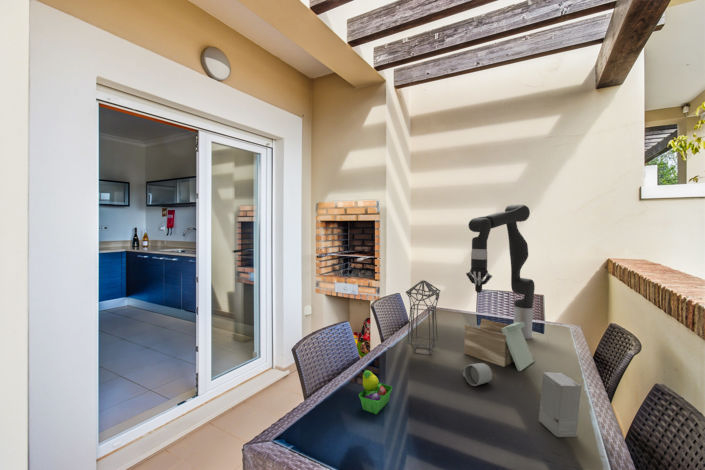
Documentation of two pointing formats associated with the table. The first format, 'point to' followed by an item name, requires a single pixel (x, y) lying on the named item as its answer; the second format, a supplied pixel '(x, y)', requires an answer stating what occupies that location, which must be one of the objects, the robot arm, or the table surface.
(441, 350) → the table surface
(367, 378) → the fruit basket
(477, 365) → the ceramic mug
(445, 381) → the table surface
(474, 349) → the birch box
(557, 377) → the skincare box
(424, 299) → the geometric lantern
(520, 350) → the cover plate
